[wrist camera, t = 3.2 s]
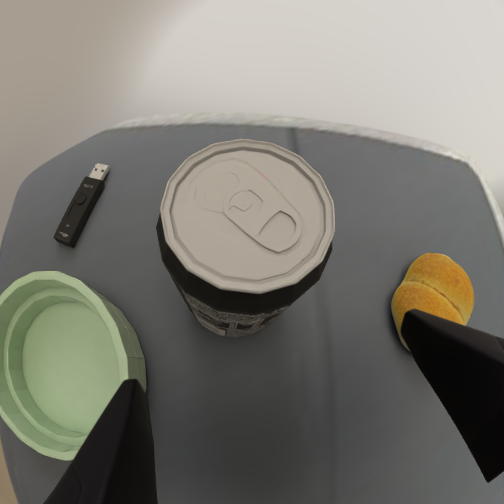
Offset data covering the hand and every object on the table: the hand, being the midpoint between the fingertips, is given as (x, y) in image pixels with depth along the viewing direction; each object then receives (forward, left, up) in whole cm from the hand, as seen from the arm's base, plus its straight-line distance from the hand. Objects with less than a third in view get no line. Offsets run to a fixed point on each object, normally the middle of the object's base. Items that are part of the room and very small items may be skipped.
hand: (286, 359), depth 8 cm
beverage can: (+5, +1, -12) cm, 13 cm away
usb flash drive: (+13, +13, -11) cm, 22 cm away
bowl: (-1, +13, -11) cm, 17 cm away
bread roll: (+2, -16, -12) cm, 20 cm away
